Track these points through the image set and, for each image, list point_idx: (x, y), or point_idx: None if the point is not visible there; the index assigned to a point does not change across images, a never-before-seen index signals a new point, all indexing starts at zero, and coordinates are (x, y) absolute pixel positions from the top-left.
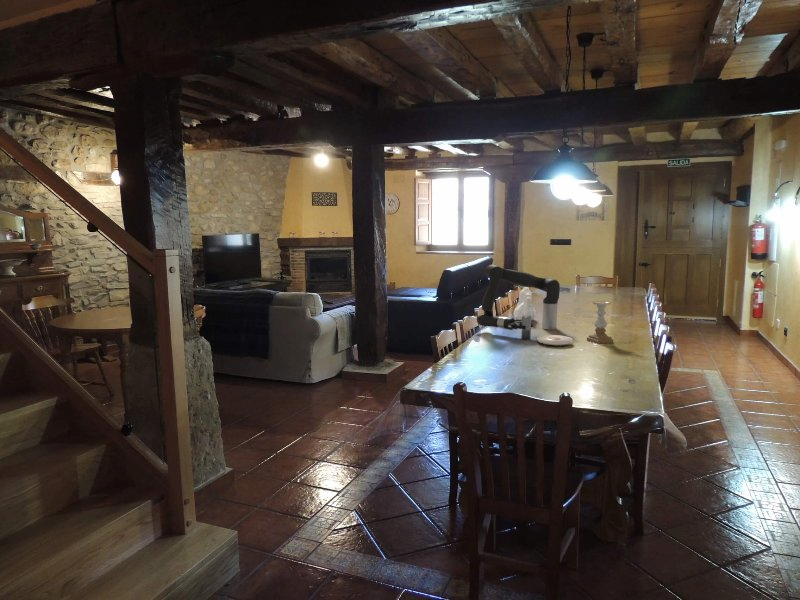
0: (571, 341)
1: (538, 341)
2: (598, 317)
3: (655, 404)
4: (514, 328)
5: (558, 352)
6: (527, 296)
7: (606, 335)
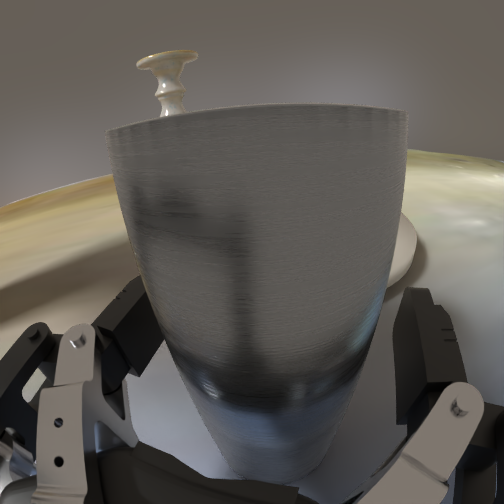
0: None
1: (402, 275)
2: (177, 106)
3: (490, 159)
4: (493, 469)
5: (439, 214)
6: None
7: None
